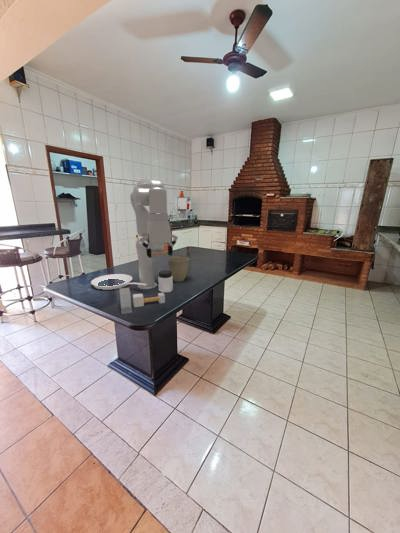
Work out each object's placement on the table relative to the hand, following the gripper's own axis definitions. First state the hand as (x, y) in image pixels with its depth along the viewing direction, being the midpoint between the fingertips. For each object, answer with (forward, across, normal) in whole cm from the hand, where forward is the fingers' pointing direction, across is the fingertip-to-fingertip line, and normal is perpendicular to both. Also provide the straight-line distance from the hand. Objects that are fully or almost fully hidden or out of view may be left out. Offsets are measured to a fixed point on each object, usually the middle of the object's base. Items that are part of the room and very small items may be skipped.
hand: (160, 256), depth 100 cm
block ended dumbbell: (+30, +2, -16) cm, 34 cm away
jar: (+30, -14, -31) cm, 45 cm away
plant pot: (+30, -29, -45) cm, 61 cm away
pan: (+30, +10, -50) cm, 60 cm away
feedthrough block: (+30, +14, -18) cm, 37 cm away
